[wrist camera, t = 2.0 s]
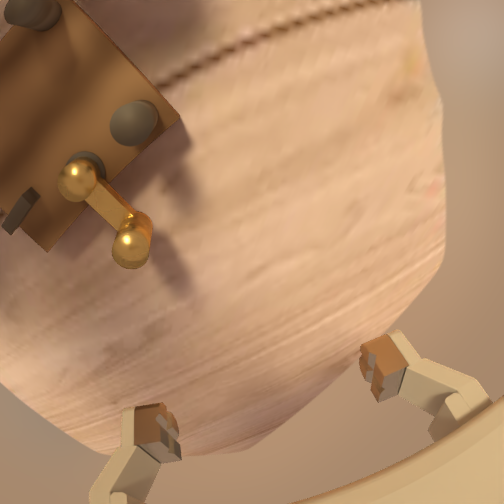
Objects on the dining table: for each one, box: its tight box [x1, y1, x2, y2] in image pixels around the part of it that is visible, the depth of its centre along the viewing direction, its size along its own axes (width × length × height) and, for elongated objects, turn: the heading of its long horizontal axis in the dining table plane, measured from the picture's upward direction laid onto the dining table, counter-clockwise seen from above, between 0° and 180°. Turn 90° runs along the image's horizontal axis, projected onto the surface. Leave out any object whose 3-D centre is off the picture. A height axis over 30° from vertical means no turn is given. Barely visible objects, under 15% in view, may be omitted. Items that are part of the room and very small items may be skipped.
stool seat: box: [0, 0, 180, 253], centre depth 17 cm, size 16×16×7 cm
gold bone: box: [58, 156, 153, 269], centre depth 20 cm, size 9×3×4 cm, turn 37°
